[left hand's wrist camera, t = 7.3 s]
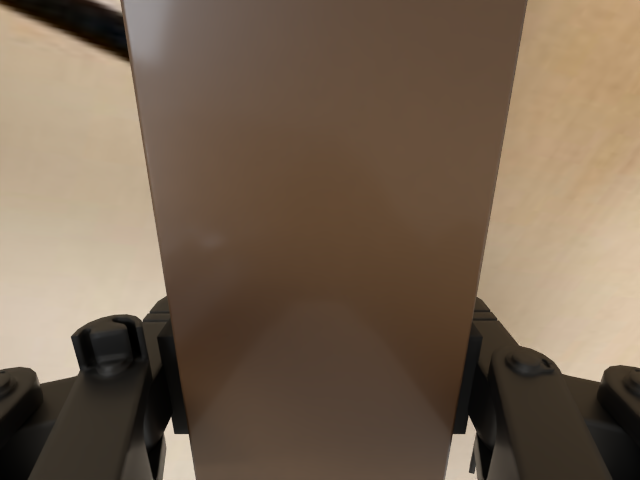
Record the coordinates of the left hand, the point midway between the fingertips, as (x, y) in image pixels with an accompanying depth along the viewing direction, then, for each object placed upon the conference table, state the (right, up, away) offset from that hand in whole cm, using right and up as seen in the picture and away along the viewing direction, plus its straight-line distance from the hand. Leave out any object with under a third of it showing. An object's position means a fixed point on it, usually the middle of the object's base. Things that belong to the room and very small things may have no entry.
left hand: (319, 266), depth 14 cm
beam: (0, +21, -7) cm, 23 cm away
